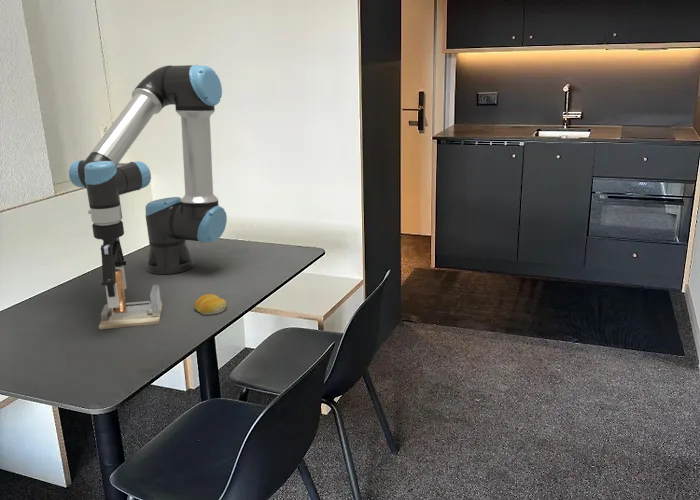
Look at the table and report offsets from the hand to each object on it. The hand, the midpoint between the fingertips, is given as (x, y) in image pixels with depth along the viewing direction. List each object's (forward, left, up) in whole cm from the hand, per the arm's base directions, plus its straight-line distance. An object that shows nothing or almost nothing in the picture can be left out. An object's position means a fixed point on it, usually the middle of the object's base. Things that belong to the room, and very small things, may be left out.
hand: (117, 297), depth 173 cm
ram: (0, +4, -5) cm, 6 cm away
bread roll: (0, +24, -6) cm, 25 cm away
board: (0, +3, -6) cm, 6 cm away
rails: (0, +2, -5) cm, 5 cm away
